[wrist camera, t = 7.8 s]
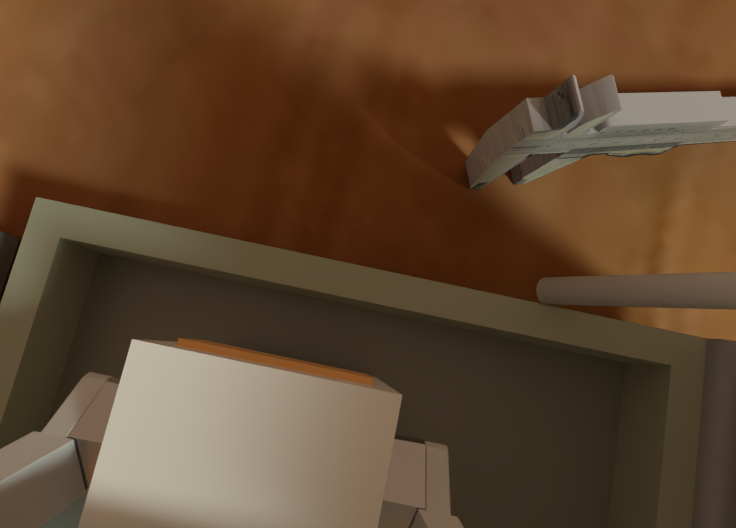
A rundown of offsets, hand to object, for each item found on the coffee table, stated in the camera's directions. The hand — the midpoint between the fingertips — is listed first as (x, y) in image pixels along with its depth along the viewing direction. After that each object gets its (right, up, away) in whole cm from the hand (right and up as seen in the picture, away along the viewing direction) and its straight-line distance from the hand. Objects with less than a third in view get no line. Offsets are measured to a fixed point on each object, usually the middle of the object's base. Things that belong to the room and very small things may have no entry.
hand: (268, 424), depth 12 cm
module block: (0, -1, +4) cm, 4 cm away
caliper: (+16, +8, +8) cm, 20 cm away
